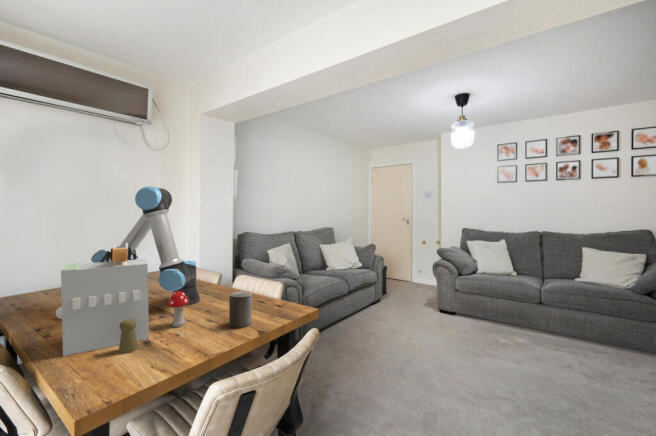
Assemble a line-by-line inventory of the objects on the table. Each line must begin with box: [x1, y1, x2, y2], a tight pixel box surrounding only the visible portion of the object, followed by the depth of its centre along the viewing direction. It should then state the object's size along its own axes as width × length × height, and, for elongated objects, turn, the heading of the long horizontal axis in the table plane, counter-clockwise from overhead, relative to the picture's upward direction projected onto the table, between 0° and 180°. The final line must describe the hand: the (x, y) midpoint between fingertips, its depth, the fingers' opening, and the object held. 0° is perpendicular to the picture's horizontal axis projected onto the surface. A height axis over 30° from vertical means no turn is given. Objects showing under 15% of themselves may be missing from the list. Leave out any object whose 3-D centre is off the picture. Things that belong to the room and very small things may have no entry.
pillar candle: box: [228, 290, 253, 329], centre depth 135 cm, size 10×10×15 cm
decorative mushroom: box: [167, 291, 189, 328], centre depth 135 cm, size 10×9×15 cm
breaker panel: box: [60, 258, 150, 357], centre depth 119 cm, size 17×26×30 cm, turn 124°
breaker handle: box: [112, 245, 127, 262], centre depth 125 cm, size 26×5×5 cm, turn 34°
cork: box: [118, 319, 139, 355], centre depth 111 cm, size 6×6×11 cm
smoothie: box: [55, 305, 62, 320], centre depth 145 cm, size 6×6×14 cm
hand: (120, 246), depth 129 cm, fingers closed on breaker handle, 3 cm apart
